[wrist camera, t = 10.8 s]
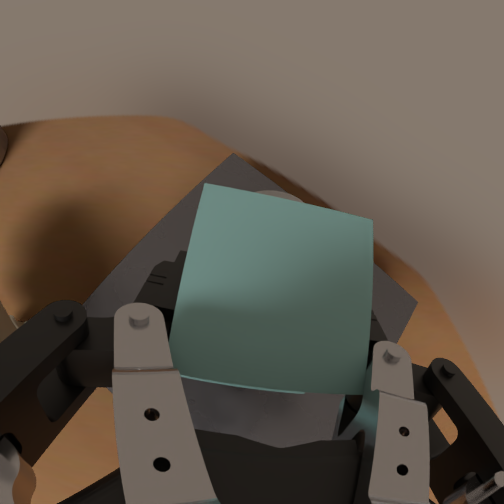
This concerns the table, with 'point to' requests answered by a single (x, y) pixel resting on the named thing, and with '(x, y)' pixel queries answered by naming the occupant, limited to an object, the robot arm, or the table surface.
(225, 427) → the stand
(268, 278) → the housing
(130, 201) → the table surface
